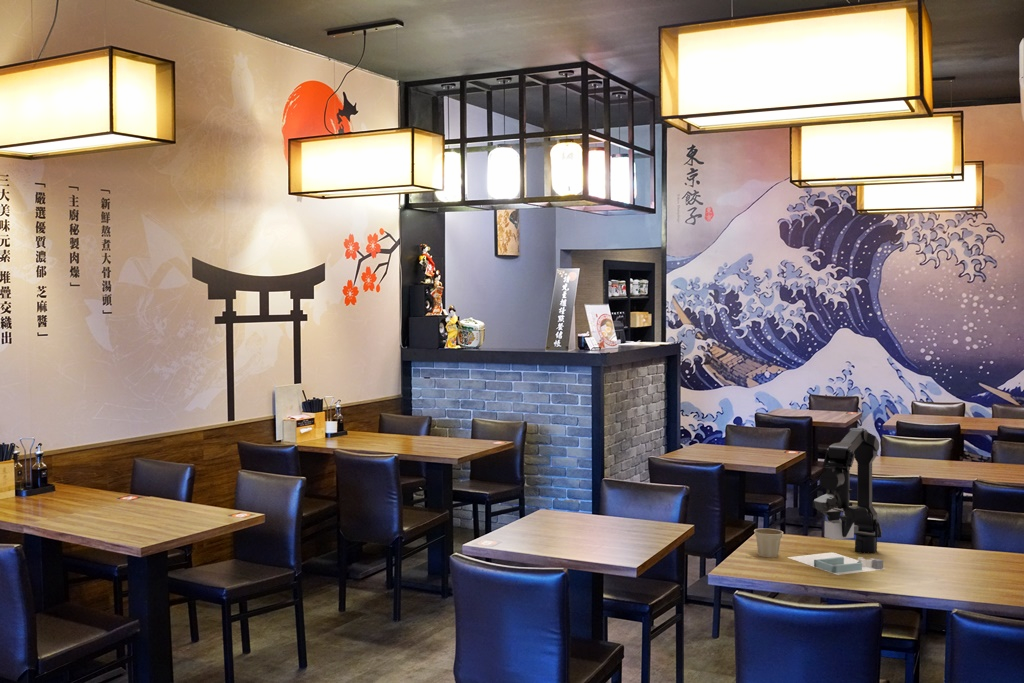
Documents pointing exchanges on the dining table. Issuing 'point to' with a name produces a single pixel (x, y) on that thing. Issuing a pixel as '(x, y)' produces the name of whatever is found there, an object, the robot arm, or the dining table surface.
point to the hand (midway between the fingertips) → (839, 535)
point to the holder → (830, 562)
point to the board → (810, 558)
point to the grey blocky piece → (877, 564)
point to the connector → (838, 530)
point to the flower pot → (768, 542)
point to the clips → (866, 562)
